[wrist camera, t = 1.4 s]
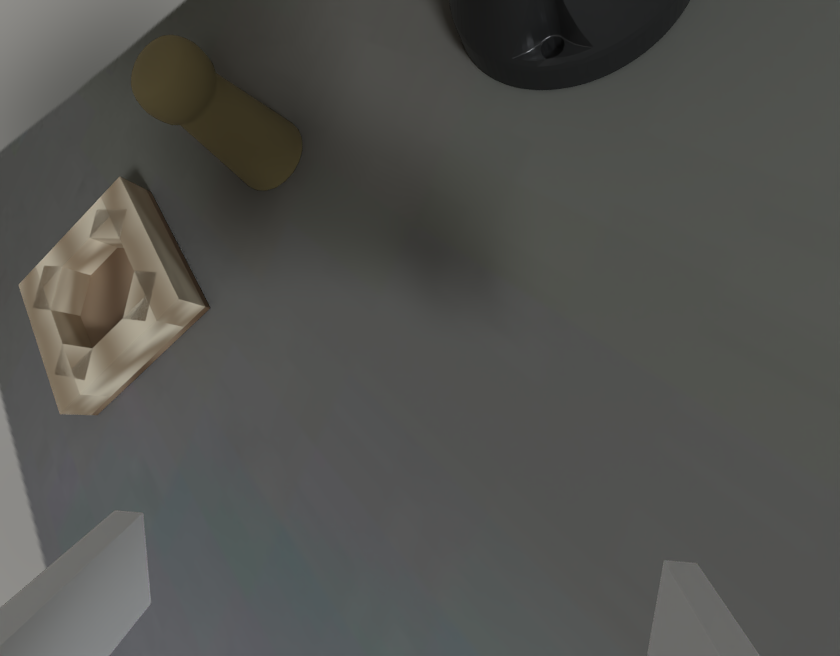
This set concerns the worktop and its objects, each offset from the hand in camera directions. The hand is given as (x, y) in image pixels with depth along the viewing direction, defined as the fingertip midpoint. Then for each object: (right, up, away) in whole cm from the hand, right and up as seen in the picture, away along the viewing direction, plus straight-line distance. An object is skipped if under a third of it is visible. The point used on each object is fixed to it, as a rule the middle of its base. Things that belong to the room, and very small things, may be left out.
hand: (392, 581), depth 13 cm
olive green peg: (-11, +20, +27) cm, 36 cm away
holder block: (-25, +9, +30) cm, 40 cm away
